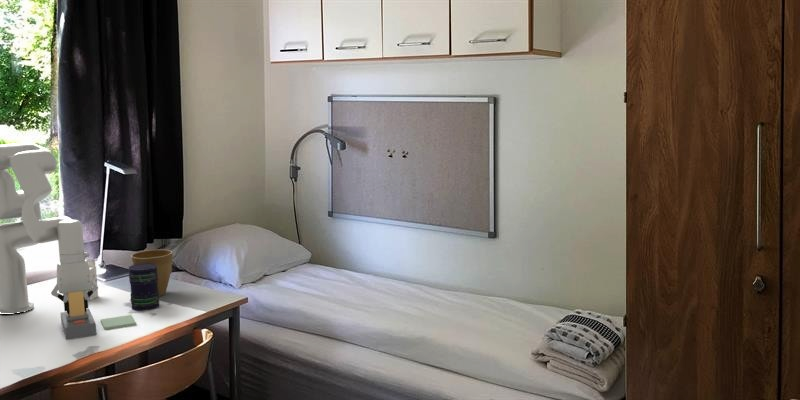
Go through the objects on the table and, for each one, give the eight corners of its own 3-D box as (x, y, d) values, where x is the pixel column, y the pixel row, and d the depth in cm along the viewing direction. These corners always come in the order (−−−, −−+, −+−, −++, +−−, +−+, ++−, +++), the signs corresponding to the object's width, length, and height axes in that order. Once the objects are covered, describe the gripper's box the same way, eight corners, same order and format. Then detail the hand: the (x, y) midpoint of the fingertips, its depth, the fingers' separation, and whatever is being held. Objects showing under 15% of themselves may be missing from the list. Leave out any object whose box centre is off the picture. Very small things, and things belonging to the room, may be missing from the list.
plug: (66, 327, 260) (63, 289, 258) (87, 324, 263) (84, 286, 261) (68, 332, 254) (65, 294, 252) (89, 329, 257) (86, 291, 255)
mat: (100, 321, 266) (100, 319, 266) (131, 317, 271) (131, 314, 271) (104, 329, 258) (104, 327, 257) (136, 324, 262) (136, 322, 262)
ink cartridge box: (70, 299, 293) (67, 261, 291) (77, 295, 298) (74, 258, 296) (92, 299, 292) (89, 261, 290) (98, 296, 297) (95, 258, 295)
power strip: (61, 324, 264) (60, 310, 264) (89, 319, 268) (88, 306, 268) (66, 339, 249) (65, 325, 248) (96, 334, 253) (95, 321, 252)
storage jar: (126, 307, 283) (123, 266, 280) (151, 301, 289) (149, 261, 287) (139, 312, 276) (136, 271, 273) (164, 306, 282) (162, 266, 280)
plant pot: (181, 289, 305) (178, 249, 302) (166, 300, 290) (163, 258, 288) (144, 288, 306) (141, 248, 304) (127, 299, 292) (124, 257, 289)
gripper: (98, 252, 262) (102, 305, 265) (43, 258, 254) (47, 312, 257) (101, 257, 255) (105, 311, 258) (44, 263, 247) (49, 319, 251)
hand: (76, 311), depth 258 cm, fingers closed on plug, 4 cm apart
